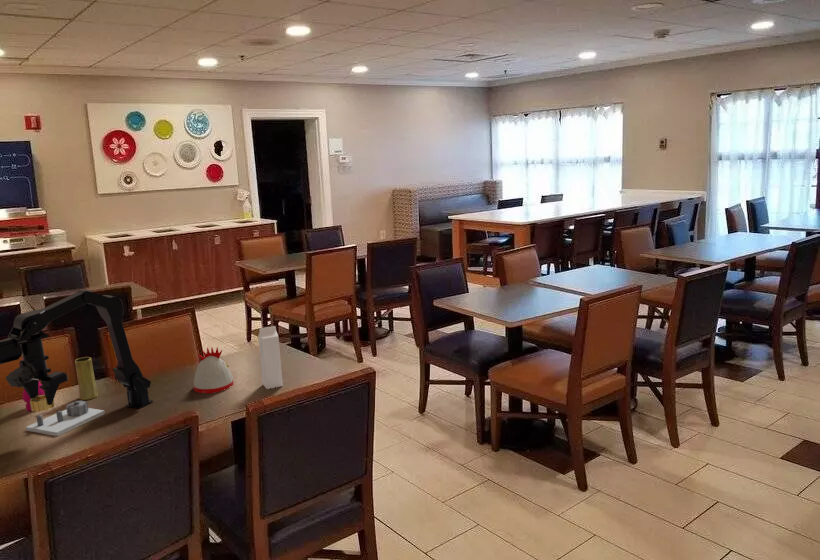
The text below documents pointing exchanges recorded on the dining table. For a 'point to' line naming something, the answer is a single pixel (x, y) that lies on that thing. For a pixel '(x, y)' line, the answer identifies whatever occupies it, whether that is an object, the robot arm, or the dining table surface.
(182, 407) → the dining table surface
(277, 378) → the milk
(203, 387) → the kitchen timer
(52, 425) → the gear board
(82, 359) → the vase
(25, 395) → the pepper mill
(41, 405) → the gear
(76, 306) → the robot arm
